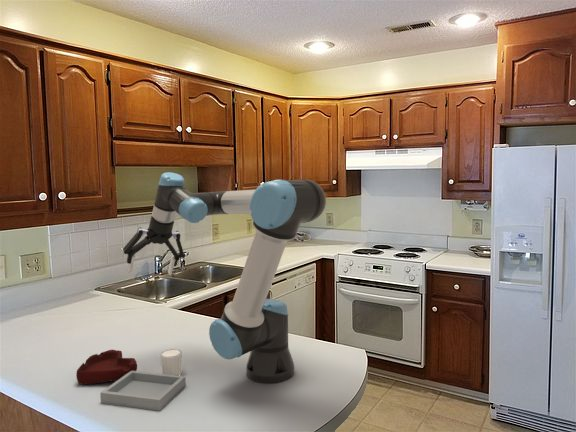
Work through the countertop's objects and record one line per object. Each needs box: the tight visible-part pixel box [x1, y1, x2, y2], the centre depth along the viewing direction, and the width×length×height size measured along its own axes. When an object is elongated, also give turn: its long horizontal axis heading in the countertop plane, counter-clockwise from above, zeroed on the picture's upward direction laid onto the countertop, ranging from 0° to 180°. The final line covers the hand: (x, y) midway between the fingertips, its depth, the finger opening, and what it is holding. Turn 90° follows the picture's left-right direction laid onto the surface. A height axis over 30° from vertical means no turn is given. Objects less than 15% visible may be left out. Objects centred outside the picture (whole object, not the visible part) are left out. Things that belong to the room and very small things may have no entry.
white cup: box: [159, 348, 183, 376], centre depth 142 cm, size 7×7×7 cm
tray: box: [100, 370, 187, 412], centre depth 129 cm, size 18×14×3 cm
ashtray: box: [75, 349, 138, 385], centre depth 142 cm, size 18×16×5 cm
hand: (150, 272), depth 156 cm, fingers open, 13 cm apart
